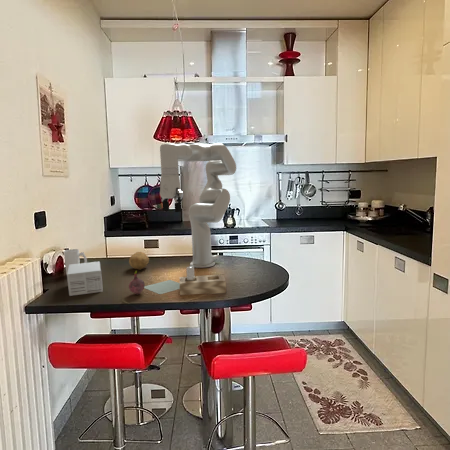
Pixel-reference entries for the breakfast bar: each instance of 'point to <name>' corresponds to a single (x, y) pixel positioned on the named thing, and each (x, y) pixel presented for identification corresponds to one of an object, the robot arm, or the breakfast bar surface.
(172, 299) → the breakfast bar surface
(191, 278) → the pin
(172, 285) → the mat
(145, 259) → the potato
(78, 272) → the supplement box
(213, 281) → the hole block
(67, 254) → the mug
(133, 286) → the vegetable
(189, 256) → the breakfast bar surface
